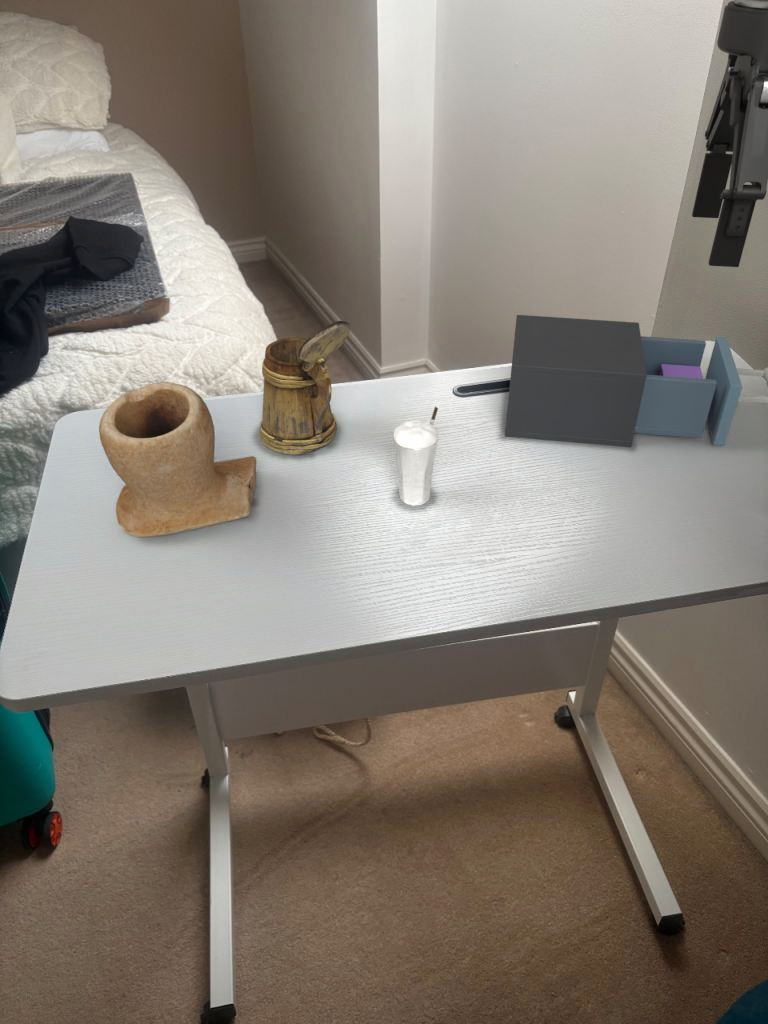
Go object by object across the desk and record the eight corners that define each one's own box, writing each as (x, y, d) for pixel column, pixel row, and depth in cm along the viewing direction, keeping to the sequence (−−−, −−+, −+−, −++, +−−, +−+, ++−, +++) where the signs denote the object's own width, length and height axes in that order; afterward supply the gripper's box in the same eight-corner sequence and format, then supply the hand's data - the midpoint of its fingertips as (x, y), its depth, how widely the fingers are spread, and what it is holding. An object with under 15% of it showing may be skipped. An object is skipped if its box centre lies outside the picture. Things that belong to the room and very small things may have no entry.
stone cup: (119, 564, 82) (82, 438, 72) (119, 492, 91) (86, 371, 81) (272, 539, 84) (256, 414, 75) (257, 471, 93) (241, 352, 84)
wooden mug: (311, 484, 92) (298, 336, 80) (246, 431, 100) (227, 290, 88) (374, 454, 96) (371, 309, 84) (307, 405, 104) (296, 268, 93)
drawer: (760, 397, 103) (778, 340, 98) (778, 450, 94) (799, 390, 89) (600, 385, 105) (610, 329, 100) (603, 435, 97) (615, 377, 92)
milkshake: (449, 493, 90) (453, 415, 84) (415, 515, 87) (416, 436, 81) (419, 475, 93) (421, 398, 86) (385, 496, 90) (384, 418, 83)
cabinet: (624, 391, 106) (638, 322, 100) (630, 447, 96) (646, 374, 90) (510, 382, 108) (516, 314, 102) (504, 436, 98) (511, 365, 92)
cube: (691, 399, 101) (700, 366, 98) (696, 419, 97) (705, 385, 94) (653, 396, 101) (661, 363, 98) (656, 416, 98) (664, 382, 95)
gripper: (707, -19, 83) (664, 198, 96) (751, 24, 64) (690, 286, 77) (786, -18, 82) (732, 200, 95) (855, 25, 63) (775, 291, 76)
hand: (713, 239), depth 86 cm, fingers open, 13 cm apart
